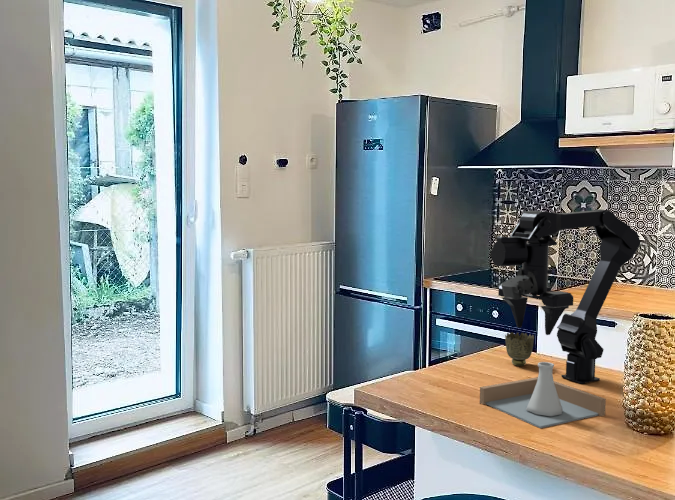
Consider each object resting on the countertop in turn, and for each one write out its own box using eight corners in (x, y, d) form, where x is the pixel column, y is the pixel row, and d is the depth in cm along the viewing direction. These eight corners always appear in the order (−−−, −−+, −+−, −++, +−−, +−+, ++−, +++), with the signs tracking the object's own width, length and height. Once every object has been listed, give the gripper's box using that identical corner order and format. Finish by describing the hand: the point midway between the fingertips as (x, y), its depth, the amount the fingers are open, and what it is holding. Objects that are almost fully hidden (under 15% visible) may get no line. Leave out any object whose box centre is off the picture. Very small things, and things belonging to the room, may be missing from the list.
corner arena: (540, 391, 147) (541, 376, 147) (605, 415, 132) (605, 398, 131) (479, 402, 139) (480, 387, 139) (540, 429, 123) (540, 412, 123)
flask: (553, 420, 128) (554, 370, 127) (519, 411, 133) (521, 363, 132) (569, 411, 133) (570, 363, 132) (536, 403, 138) (537, 357, 137)
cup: (528, 370, 165) (529, 339, 164) (500, 365, 169) (501, 335, 168) (536, 363, 171) (537, 334, 171) (509, 359, 175) (510, 330, 175)
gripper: (481, 262, 154) (480, 326, 156) (538, 271, 138) (536, 342, 139) (516, 260, 159) (515, 322, 161) (576, 268, 143) (573, 337, 144)
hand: (533, 330), depth 151 cm, fingers open, 9 cm apart
